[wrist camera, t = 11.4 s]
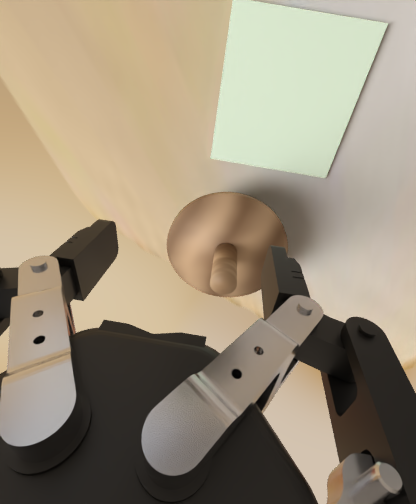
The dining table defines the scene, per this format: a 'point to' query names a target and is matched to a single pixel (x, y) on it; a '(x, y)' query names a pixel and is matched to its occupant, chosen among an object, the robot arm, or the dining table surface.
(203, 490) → the robot arm
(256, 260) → the lid
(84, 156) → the dining table surface
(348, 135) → the dining table surface
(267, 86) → the mat
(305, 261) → the dining table surface
